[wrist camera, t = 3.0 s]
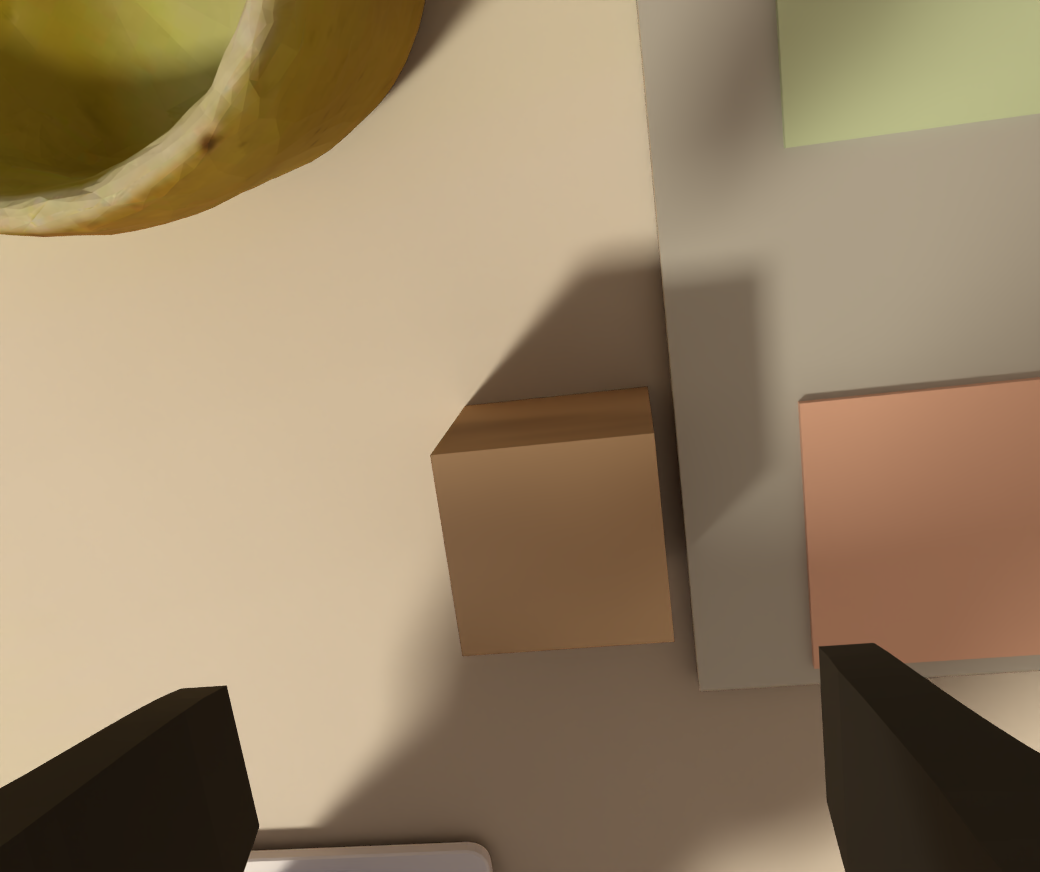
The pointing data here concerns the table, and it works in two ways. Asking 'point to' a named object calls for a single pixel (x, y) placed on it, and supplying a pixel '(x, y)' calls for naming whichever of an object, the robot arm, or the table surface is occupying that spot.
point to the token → (554, 523)
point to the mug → (178, 101)
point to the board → (852, 327)
